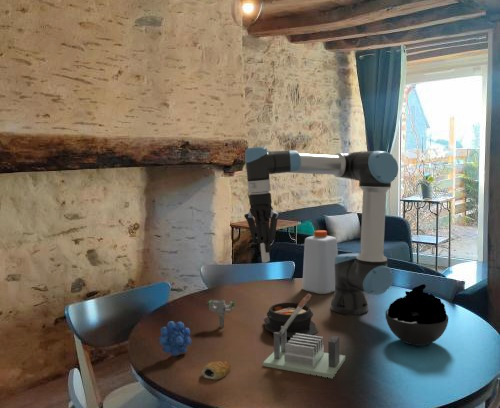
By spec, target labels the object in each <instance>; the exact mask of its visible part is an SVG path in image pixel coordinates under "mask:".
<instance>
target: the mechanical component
mask: <svg viewBox="0 0 500 408" xmlns="http://www.w3.org/2000/svg"><path fill="white" fill-rule="evenodd" d="M206 304H207V305H206V306H208V307H209V311H210V312H211V313H217V316H218V318H219V328H220V329H223V328H224V327H225V321H224V319H225V318H224V317H225V316H226V314H225V313H228V314H229V313H231V312H232V310H233V309H234V308H235V306H236V305H235V304H236V303H235V302H233V301H230V302H229V304H226V300H224V299H222V300H219V299H210V300H208V301H207V303H206Z"/></svg>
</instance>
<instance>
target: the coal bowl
mask: <svg viewBox="0 0 500 408" xmlns="http://www.w3.org/2000/svg"><path fill="white" fill-rule="evenodd" d="M426 287H427V285H426V284H425V283H424V284H423V283H422V284H420V285H418V286H415V287H413V288H412V289H411V290H410V291H408V290H406V291H405V292H404V293H405V295H404V296H403V297H399V298H396V299H395V300H393V301H392V303H390V304H389V306H388V308H387V309H386V311H385V319H386V322H387V326H388V328H389V330H390V331H391V332H392V333H393V335H394V336H396V337H397V338H398V339H399V340H401V341H403V342H405V343H406V344H408V345H414V346H426V345H429V344H432V343H434V342H436V341H437V340H438V339H439V338H441V336H443V334H444V333H445V331H446V329H447V327H448V324H449V315H448V314H447V311H446V308H445V307H446V306H445V303H444V302H442V300H441V298H440V297H437V296H435V295H433V294H432V293H430V294H429V293H428V292H425V291H424V289H426Z"/></svg>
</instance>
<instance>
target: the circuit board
mask: <svg viewBox="0 0 500 408" xmlns="http://www.w3.org/2000/svg"><path fill="white" fill-rule="evenodd" d="M284 354H285V352H281V345H280V359H279V360H278V359H274V351H273V352H272V353H271V354H270V355H269V356H268V357H266V358H265V360H264V361H263V362H262V363H263V364H262V367H267V368H272V369H278V370H282V371H283V370H284V371H289V372H294V373H301V374H304V375H310V374H311V376H316V375H317V377H321V376H322V378H327V377H328V379H334V378H335V376H336V375H335V374H337V373H338V372H337V371H339V370H340V369H341V367H342V365H343V364H344V363H345V361H346V355H343V354H340V361H339V363H338V364H337V366H336V367H335V368H333V367H329V355H328V352H324V355H323V356H322V357H321V359H320V360H319V361H318V363H317V364H316V365H315V367H314V368H313V369H312V368H306V367H300V366H295V365H289V364H285V355H284ZM333 377H334V378H333Z"/></svg>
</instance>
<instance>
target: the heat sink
mask: <svg viewBox="0 0 500 408" xmlns="http://www.w3.org/2000/svg"><path fill="white" fill-rule="evenodd" d="M282 328H283V326H281V329H282ZM287 338H288V337H287V330H286V331H285V332H284V334H283V335H282V336H281V337H280V333H278V332H274V333H273V352H274V359H278V360H279V359H280V346H281V352H285V354H284V355H285V364H289V365H295V366H300V367H306V368H312V369H313V368H314V367H315V365H316V364H317V363H318V361H319V360H320V359H321V357H322V356H323V355H324V353H325V352H324V351H325V350H324V349H325V348H324V337H323V336H318V335H306V334H299V333H296V334H295V336H293V338H289V340H288V339H287ZM327 347H328V352H327V353H328V355H329V367H333V368H335V367H336V366H337V364H338V363H339V361H340V355H341V354H340V353H341V352H340V350H341V349H340V336H337V335H332V336H331V338H330V339H329V340H328V344H327Z"/></svg>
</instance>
